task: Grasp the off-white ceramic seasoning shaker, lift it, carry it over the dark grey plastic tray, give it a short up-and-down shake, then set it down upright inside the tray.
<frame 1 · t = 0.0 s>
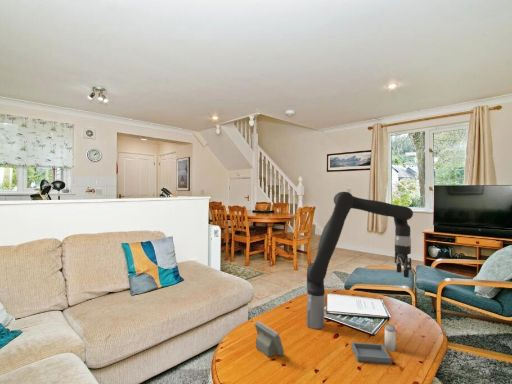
hand: (402, 274, 140), 29 cm above the table, fingers open, 8 cm apart
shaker: (390, 348, 123), on the table
digital clock: (268, 349, 121), on the table
tray: (370, 355, 118), on the table
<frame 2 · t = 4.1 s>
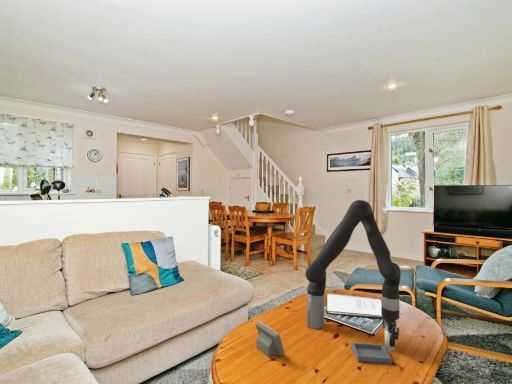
hand: (390, 343, 123), 2 cm above the table, fingers closed on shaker, 4 cm apart
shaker: (390, 348, 123), on the table, touching gripper
everything else where it was.
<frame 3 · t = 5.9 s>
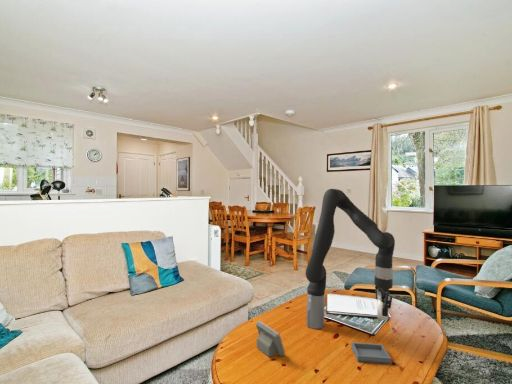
hand: (382, 313, 122), 17 cm above the table, fingers closed on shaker, 4 cm apart
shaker: (382, 318, 122), point 15 cm above the table, touching gripper
everything else where it was.
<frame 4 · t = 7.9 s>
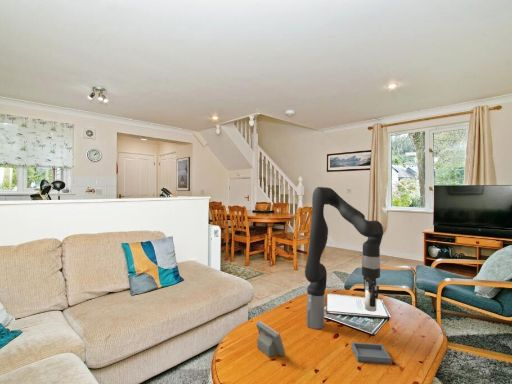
hand: (370, 303, 118), 23 cm above the table, fingers closed on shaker, 4 cm apart
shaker: (370, 309, 118), point 20 cm above the table, touching gripper
everything else where it was.
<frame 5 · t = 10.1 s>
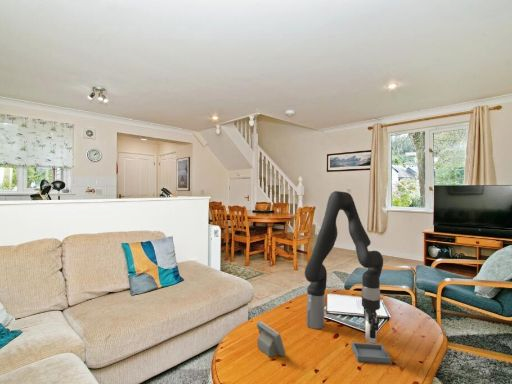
hand: (370, 334, 118), 9 cm above the table, fingers closed on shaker, 4 cm apart
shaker: (371, 340, 118), point 7 cm above the table, touching gripper
everything else where it was.
when the fingers open (4 cm above the table, at t = 12.0 s): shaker drops 1 cm, resting on tray.
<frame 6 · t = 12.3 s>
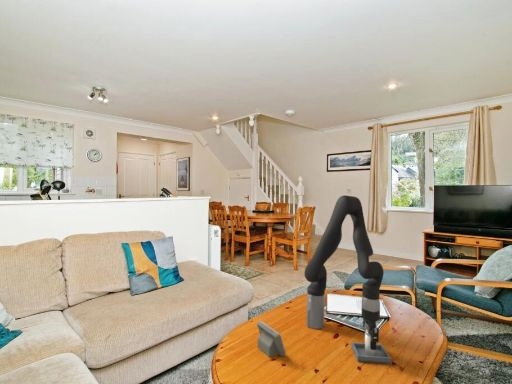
hand: (370, 344, 118), 5 cm above the table, fingers open, 7 cm apart
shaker: (370, 353, 118), point 1 cm above the table, touching tray
everything else where it was.
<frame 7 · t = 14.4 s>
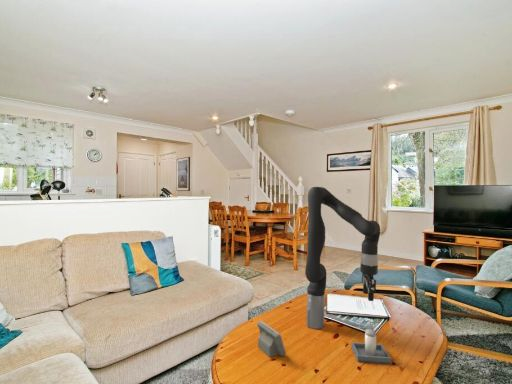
hand: (368, 297, 126), 23 cm above the table, fingers open, 8 cm apart
nothing on the table moved.
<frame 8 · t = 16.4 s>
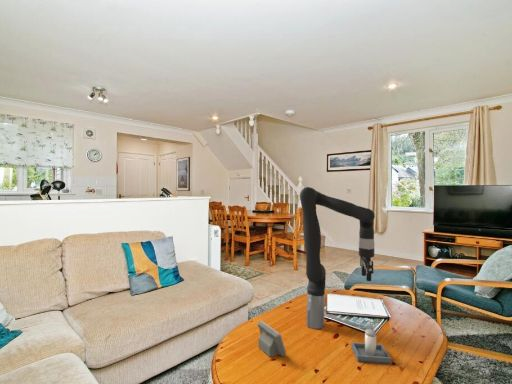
hand: (366, 278, 137), 28 cm above the table, fingers open, 8 cm apart
at the end: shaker inside the target area on the tray (0.1 cm from its centre), point 0.6 cm above the tray's base; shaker tilted 0°; the gripper is holding nothing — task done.
